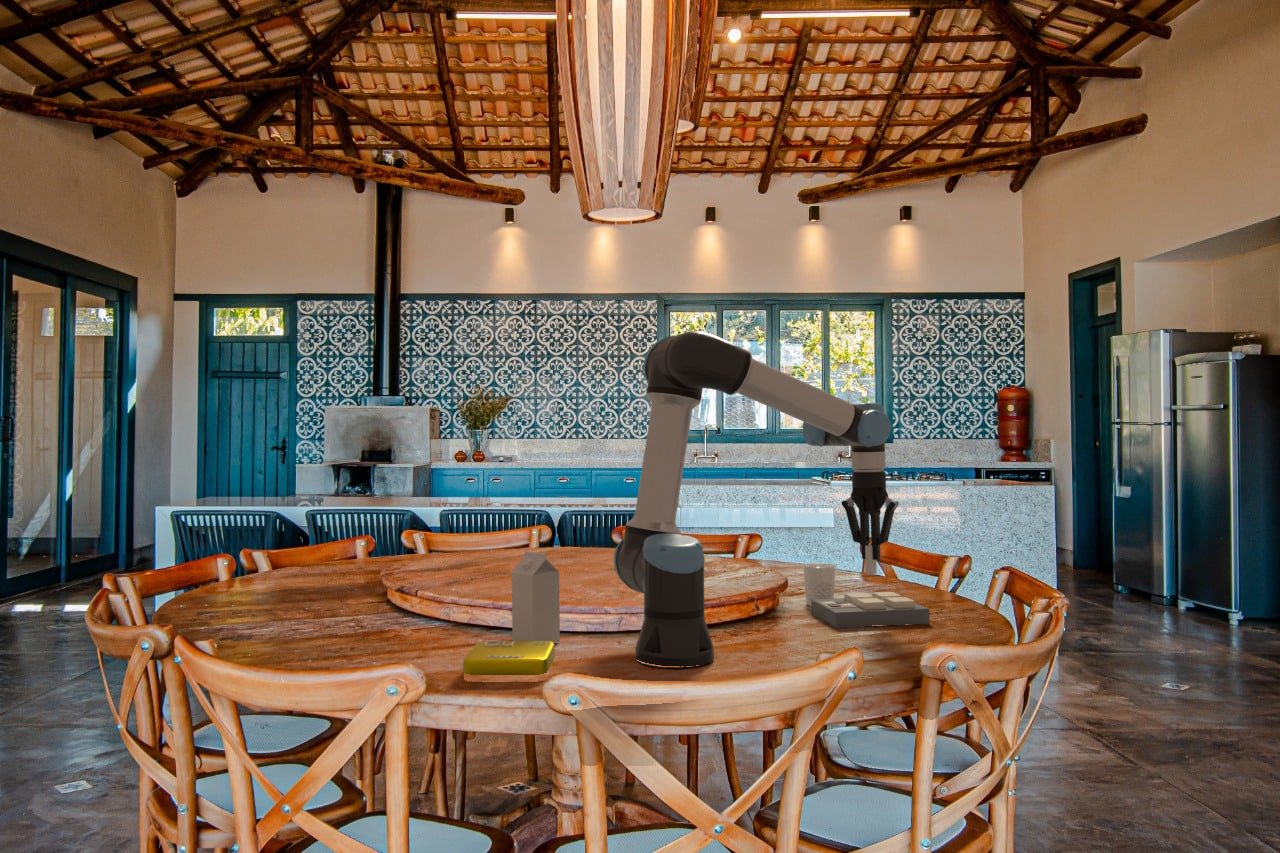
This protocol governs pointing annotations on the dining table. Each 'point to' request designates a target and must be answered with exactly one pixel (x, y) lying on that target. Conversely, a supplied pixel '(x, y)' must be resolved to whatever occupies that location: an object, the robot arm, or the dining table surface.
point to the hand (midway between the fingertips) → (871, 573)
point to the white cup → (819, 581)
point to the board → (865, 614)
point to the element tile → (509, 658)
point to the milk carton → (535, 600)
